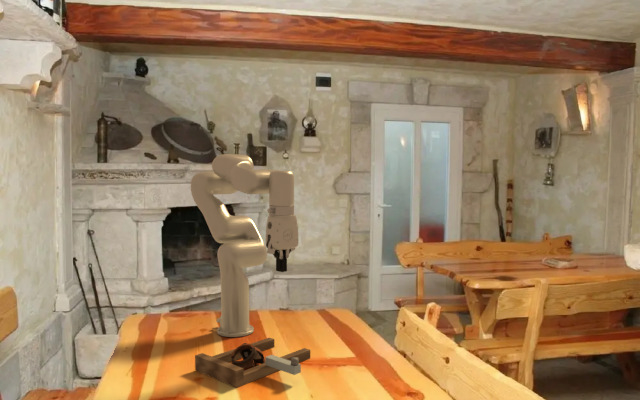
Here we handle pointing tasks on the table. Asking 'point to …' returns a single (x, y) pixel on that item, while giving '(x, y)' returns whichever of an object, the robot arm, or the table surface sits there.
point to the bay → (236, 375)
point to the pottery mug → (247, 356)
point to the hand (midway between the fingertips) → (281, 271)
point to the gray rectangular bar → (284, 364)
